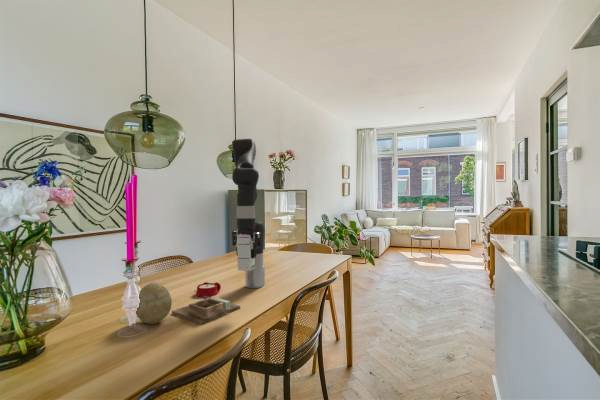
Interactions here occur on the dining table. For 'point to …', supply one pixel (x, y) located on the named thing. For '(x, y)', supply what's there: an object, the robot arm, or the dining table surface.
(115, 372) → the dining table surface
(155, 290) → the fossilized egg
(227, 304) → the bar
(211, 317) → the housing
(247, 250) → the syrup box
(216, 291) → the alarm clock
